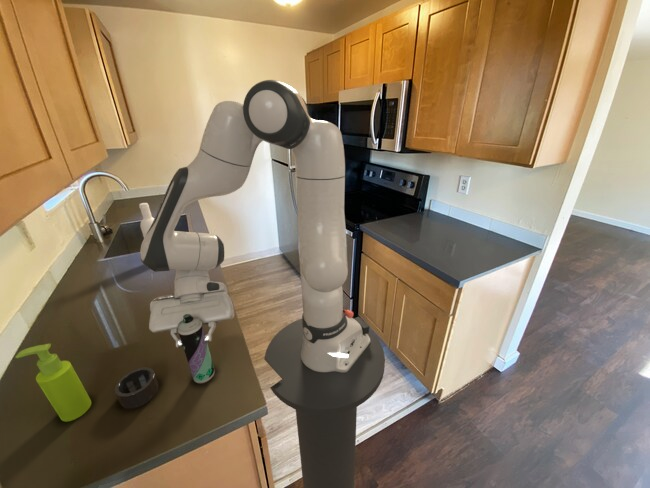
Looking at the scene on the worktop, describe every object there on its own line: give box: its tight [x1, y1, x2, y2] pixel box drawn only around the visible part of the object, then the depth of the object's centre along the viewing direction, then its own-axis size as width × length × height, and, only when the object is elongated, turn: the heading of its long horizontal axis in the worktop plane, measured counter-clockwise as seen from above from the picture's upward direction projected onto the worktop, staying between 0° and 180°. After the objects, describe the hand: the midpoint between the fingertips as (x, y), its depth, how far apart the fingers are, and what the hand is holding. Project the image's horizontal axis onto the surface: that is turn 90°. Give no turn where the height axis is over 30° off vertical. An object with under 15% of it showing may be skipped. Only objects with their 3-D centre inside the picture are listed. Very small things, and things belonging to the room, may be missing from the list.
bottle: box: [138, 202, 155, 239], centre depth 134 cm, size 8×8×30 cm
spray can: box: [177, 314, 216, 384], centre depth 71 cm, size 6×6×20 cm
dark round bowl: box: [114, 367, 160, 410], centre depth 70 cm, size 8×8×4 cm
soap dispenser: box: [14, 343, 92, 423], centre depth 63 cm, size 6×7×20 cm
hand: (194, 344), depth 70 cm, fingers closed on spray can, 5 cm apart
